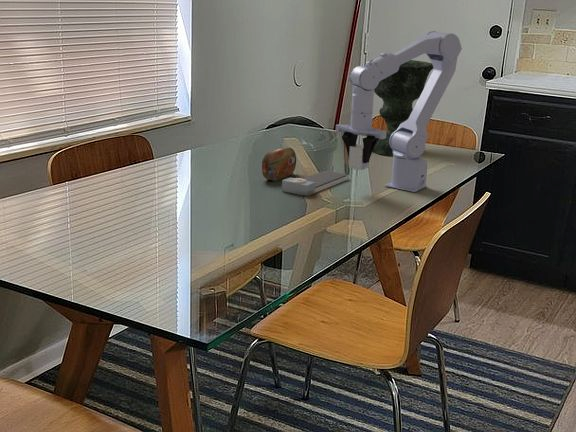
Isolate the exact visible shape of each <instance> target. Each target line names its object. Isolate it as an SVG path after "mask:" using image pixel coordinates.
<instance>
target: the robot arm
mask: <svg viewBox="0 0 576 432" xmlns="http://www.w3.org/2000/svg"><path fill="white" fill-rule="evenodd" d="M462 50H463V48H462V44H461V41H460V38H459V36H457V34H455V33H447V32H440V31H439V32H438V31H436V30H431V31H428V32H426V34H422V35H420V37H419V38H417V39H416V40H414V41H413V42H410V43H409V44H408V45H406V46H405V47H402V48H401V49H400V50H398V51H397V52H395V53H391V52H384V51H383V52H381V53H380V54H379V55H380V56H379V57H377V58H375V59H372V60H373V61H371V60H369V61H366V62H365V65H364V66H363V65H358V66H356V67H354V68H353V69H352V71H351V73H350V75H349V76H348V81H349V84H350V85H351V91H352V93H351V112H350V124H341V123H339V124H335V133H343V135H341V139H342V141H343V144H344V146H345V148H346V153H347V158H348V159H349V152H350V146H352V145H355V144H357V140H358V138H359V136H362V137H363V138H362V145H363V146H364V156H363V162H364V163H368V162H370V160H371V156H372V154H373V149H374V147H375V145H376V143H377V142H378V140H379V138H380V139H385V138H386V133H387V130H383V129H377V128H374V127H373V112H374V98H375V97H374V96H375V92H374V89H375V88H376V87H377V85H378V84H379V82H380V81H381V80H383V79H385V78H387V77H389V76H390V75H392V74H394V73H396V72H397V71H398V70H399V67H400V65H401V64H403V63H405V62H408V61H410V60H415V58H418V57H420V56H421V55H426V57H428V60H430V63H432V64H433V69H432V72H431V74H430V76H429V78H428V80H427V81H426V83H425V86H424V89H423V91H422V93H421V95H420V97H419V98H418V99H417V100H416V103H415V105H414V106H413V111H412V113H411V114H410V116H409V118H408V120H406V121H404V122H403V123H401V124H400V125H399V127H398V129H397V130H396V131H394V132H393V133H392V135H391V136H390V139H389V144H390V147H391V148H392V149H393V156H392V165H391V166H392V167H391V178H390V179H391V180H390V182H388V183H385V185H384V186H385V187H388V188H393V189H398V190H403V191H408V192H414V193H416V192H419V191H420V190H423V189H425V188H426V187H427V186H428V185H427V175H428V174H427V173H428V162H427V160H426V159H424V158H421V155H423V153H424V151H425V149H426V143H427V140H428V138H429V135H428V134H429V133H428V131H427V126H428V124H429V122H430V121H431V118H432V117H433V114H434V113H435V111H436V109H437V107H438V105H439V104H440V101H441V99H442V98H443V95H444V94H445V91H446V90H447V88H448V87H449V84H450V82H451V80H452V78H453V77H454V75H455V72H456V68H457V63H458V62H457V61H458V57H459V56H460V54H461V51H462ZM370 61H371V62H370Z"/></svg>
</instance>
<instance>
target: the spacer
mask: <svg viewBox="0 0 576 432" xmlns="http://www.w3.org/2000/svg"><path fill="white" fill-rule="evenodd" d="M363 156H364V146H363V144H360V143H356V144H355V145H352V146H350V152H349V158H348V168H350V169H353V170H354V169H355V170H358V171H359V170H360V171H362V170H365V169H367V168H369V162H370V161H369V162H368V163H364V162H363Z"/></svg>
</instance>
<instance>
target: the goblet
mask: <svg viewBox="0 0 576 432" xmlns="http://www.w3.org/2000/svg"><path fill="white" fill-rule="evenodd" d="M373 60H374V59H371V60H369V61H370V62H371V61H373ZM433 70H434V68H433V64H432V62H427V61H421V60H415V59H412V60H410V61H408V62H405V63H403V64H401V65H400V67H399V70H398V71H397V72H396V73H394V74H392V75H390V76H389V77H387V78H385V79H383V80H381V81H380V82H379V84H378V85H377V87H376V88H375V89H374V94H375V95H377V96H378V97H379V98H381V99H382V102H383V104H382V106H381V107H380V109H379V116H380V117H381V118H382V119H383V120H384V122H385V123H386V131H387V133H386V138H385V139H380V138H379V140H378V142H377V143H376V145H375V147H374V149H373V151H372V153H376V154H378V155H382V156H388V157H393V149H392V148H391V147H390V144H389V139H390V136H391V135H392V133H393V132H394V131H396V130H397V129H398V127H399V125H400V124H401V123H403V122H404V121H406V120H408V118H409V116H410V114H411V113H412V111H413V109H414V107H413V103H414V101H417V100H418V99H419V97H420V95H421V93H422V91H423V89H424V88H425V86H426V84H427V81H428V80H427V79H428V76H429V75H430V73H431V71H433Z"/></svg>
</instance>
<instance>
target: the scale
mask: <svg viewBox="0 0 576 432" xmlns="http://www.w3.org/2000/svg"><path fill="white" fill-rule="evenodd" d="M349 179H350V175H348V174H345V173H341V172H336V171H330V170H323V171H320V172H318V173H315V174H311V175H309V176H306V177H304V178H301V177H296V178H295V177H286V178H284V179H282V180H281V181H282V182H281V191H282V192H285V193H290V194H293V195H294V194H295V195H299V196H303V195H306V196H305V197H308V196H311V195H314V194H315V193H318V192H320V191H323V190H326V189H328V188H331V187H333V186H336V185H338V184H340V183H342V182H345V181H349ZM307 195H308V196H307Z"/></svg>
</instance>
